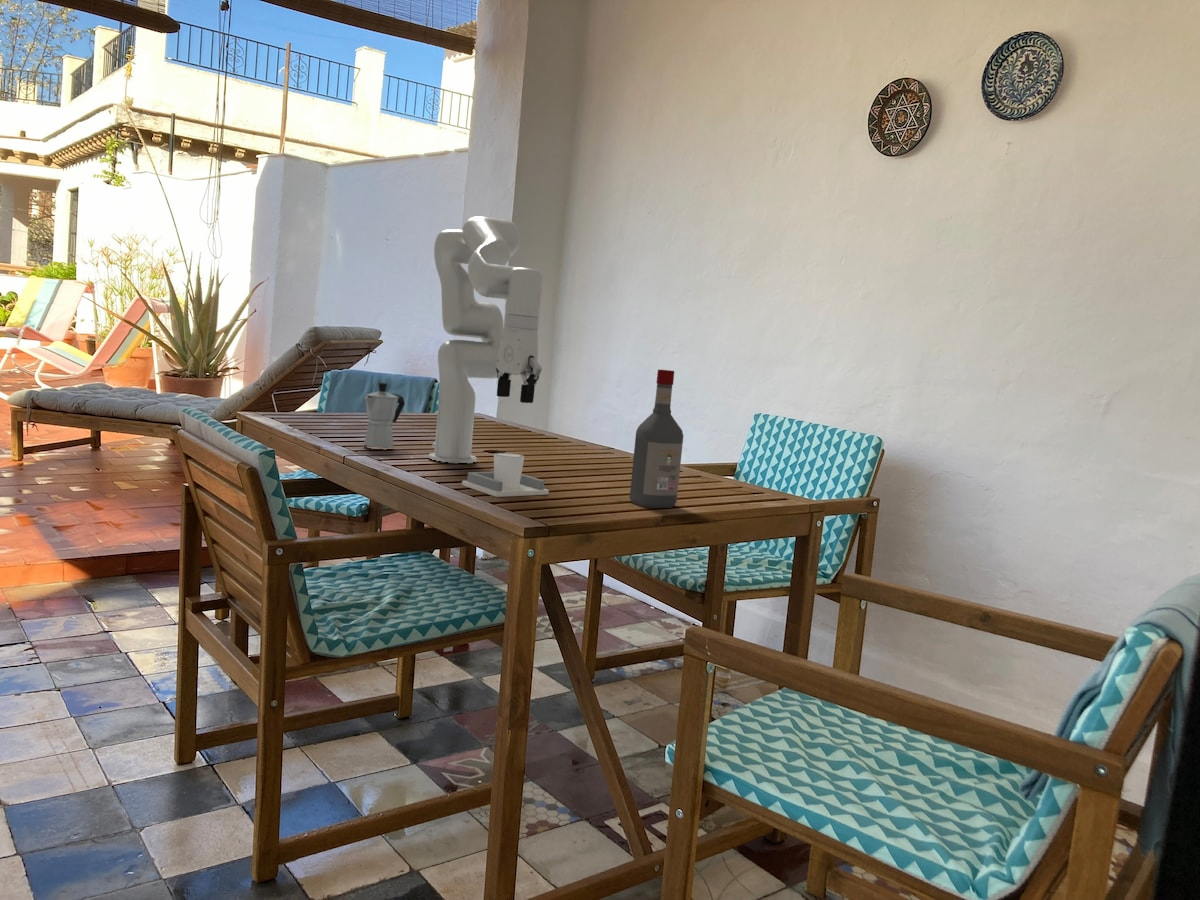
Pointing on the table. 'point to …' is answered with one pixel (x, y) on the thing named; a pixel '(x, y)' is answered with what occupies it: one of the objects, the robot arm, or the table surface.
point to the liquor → (657, 452)
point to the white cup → (508, 469)
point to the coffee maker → (382, 416)
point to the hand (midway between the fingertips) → (514, 399)
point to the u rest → (494, 487)
